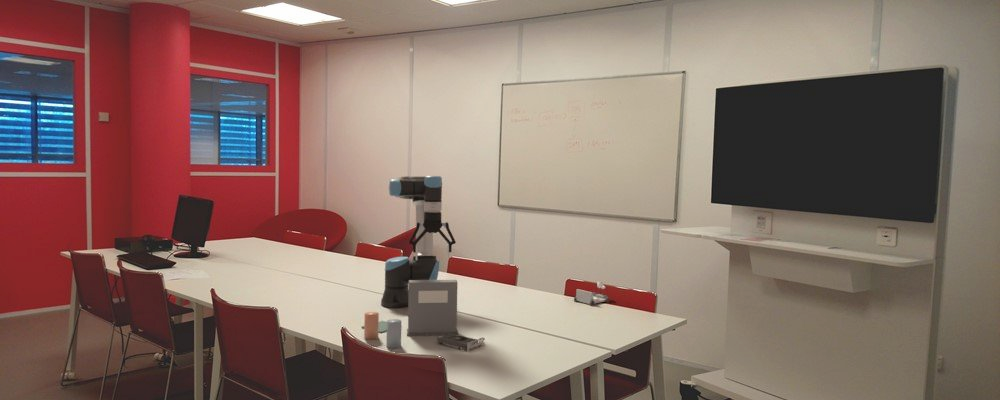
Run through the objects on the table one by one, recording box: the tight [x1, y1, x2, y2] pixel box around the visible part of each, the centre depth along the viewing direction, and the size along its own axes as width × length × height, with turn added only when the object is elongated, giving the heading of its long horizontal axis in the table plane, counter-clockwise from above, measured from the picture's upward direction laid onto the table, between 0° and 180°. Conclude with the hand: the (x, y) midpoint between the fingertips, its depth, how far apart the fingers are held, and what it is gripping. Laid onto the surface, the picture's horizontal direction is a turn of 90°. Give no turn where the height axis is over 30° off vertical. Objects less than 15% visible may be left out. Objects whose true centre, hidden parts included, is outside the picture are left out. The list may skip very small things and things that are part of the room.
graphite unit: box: [406, 279, 459, 337], centre depth 254 cm, size 7×21×22 cm, turn 99°
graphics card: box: [436, 334, 486, 352], centre depth 240 cm, size 17×4×12 cm
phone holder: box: [573, 281, 611, 307], centre depth 318 cm, size 18×10×12 cm
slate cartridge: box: [385, 318, 402, 350], centre depth 235 cm, size 6×6×10 cm
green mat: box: [361, 320, 403, 334], centre depth 261 cm, size 12×12×1 cm
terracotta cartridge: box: [363, 311, 380, 341], centre depth 246 cm, size 6×6×10 cm
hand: (432, 259), depth 265 cm, fingers open, 13 cm apart
